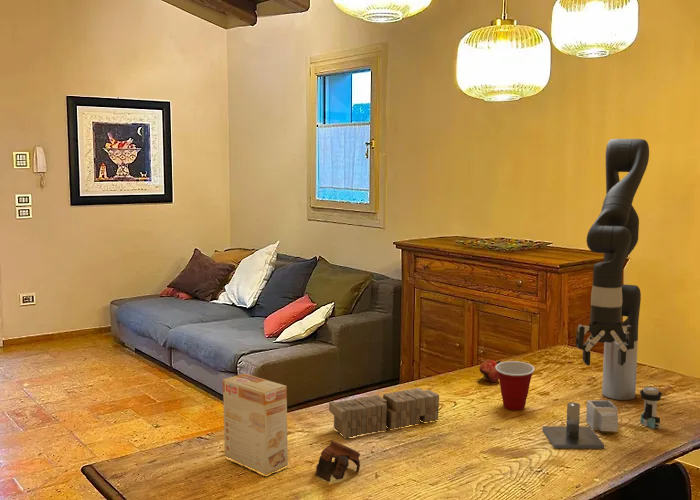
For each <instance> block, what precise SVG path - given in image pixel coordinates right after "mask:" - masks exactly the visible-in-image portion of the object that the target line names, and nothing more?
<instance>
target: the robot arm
mask: <svg viewBox="0 0 700 500" xmlns="http://www.w3.org/2000/svg"><path fill="white" fill-rule="evenodd" d="M649 159H650V146H649V142H648V141H647V140H646V139H642V138H611V139H609V141H608V142H607V144H606V149H605V188H606V189H605V191H606V192H605V194H606V195H605V197H604V199H603V201H602V206H601V211H600V214H599V215H598V216H597V218H596V219H595V220H594V222H593V224H592V225H591V227H590V228H589V230H588V232H587V235H586V246H587V248H588V249H589V250H590V251H591V252H593V253H597V254H603V261H600V262H596V263H595V264H594V265H593V268H592V288H591V294H590V295H591V296H590V317H589V319H590V320H589V325H582V324H581V323H579V324H578V325H577V327H576V335H575V346H576V348H578V349H579V350H582V362H583V363H584V364H585V365H586V366H590V365H591V349H592V348H593V347H594V346H595V345H596V344H597V343H601V344H604V345H603V364H602V382H601V383H602V386H601V387H602V388H601V394H602V396H604V397H605V398H609V399H611V400H618V401H620V400H621V401H628V400H629V401H630V400H633V399H635V398H636V391H637V390H636V388H637V387H636V385H637V366H638V347H639V346H638V343H639V321H640V311H641V300H642V299H641V296H642V292H641V289H640V287H639V286H638V285H636V284H634V285H633V284H623V271H624V270H623V269H624V264H625V261H626V259H627V258H628V257H629V256H630V254H631V253H632V252H633V250H634V249H635V248H636V245H637V244H638V241H639V231H640V229H639V227H640V219H639V214H638V213H637V211H636V209H635V207H634V205H633V202H634V199H635V198H634V197H635V196H636V194H637V191H638V189H639V187H640V184H641V182H642V180H643V177H644V175H645V172H646V170H647V167H648V164H649ZM619 173H627V174H626V175H625V176H624V177H623V178H622V179H620V176H619V175H620V174H619ZM622 317H626V319H625V320H624V321H622ZM588 331H589V333H590V335H589V336H588V337H587V339H586V341H585V342H584V340H585V335H586V334H587V332H588Z"/></svg>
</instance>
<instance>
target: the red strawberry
mask: <svg viewBox="0 0 700 500" xmlns="http://www.w3.org/2000/svg"><path fill="white" fill-rule="evenodd" d="M498 363H501V360H498V361H495V360H493V359H486V360H484V361H482V362H481V364H480V365H479V372H480V373H481V374H482V375H483V376H482V377H481V378H480V379H479V380H478V381H477V383H480V382H481V381H482V380H483V379H485V380H486V381H490V382H491V383H496V382H498V381H500V380H499V376H498V372H497V370H496V367H495V366H496V365H497V364H498Z"/></svg>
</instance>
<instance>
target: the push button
mask: <svg viewBox="0 0 700 500" xmlns="http://www.w3.org/2000/svg"><path fill="white" fill-rule="evenodd" d="M639 394H641V395H640V398H641V399H643V402H644V403H643V410H642V411H643V413H640V424H641V423H642V425H643V426H644V427H648V428H651V429H653V430H655V429H659V430H661V429H663V427H660V426H663V424H661V418H660V417H659V416H657V415H658V414H657V409H658V407H657V406H658V402H659V401H660V400H661V398H662V396H663V392H661V391H659V388H657V387H654V386H644V387H643V389H640V390H639Z"/></svg>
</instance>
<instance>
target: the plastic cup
mask: <svg viewBox="0 0 700 500" xmlns="http://www.w3.org/2000/svg"><path fill="white" fill-rule="evenodd" d="M495 367H496V370H497V372H498V376H499V380H498V381H499V387H500V392H501V393H500V395H501V398H502V405H503V408H504V409H506V410H508V411H515V412H516V411H517V412H518V411H523V410H524V409H525V407H526V405H527V404H526V402H527V398H528V395H529V390H530V385H531V380H532V377H533V373H535V370H536V369H535V366H534V365H532V364H530V363H528V362H524V361H517V360H509V361H502V362H501V361H500V363H498V364H497V365H496V366H495Z"/></svg>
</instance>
